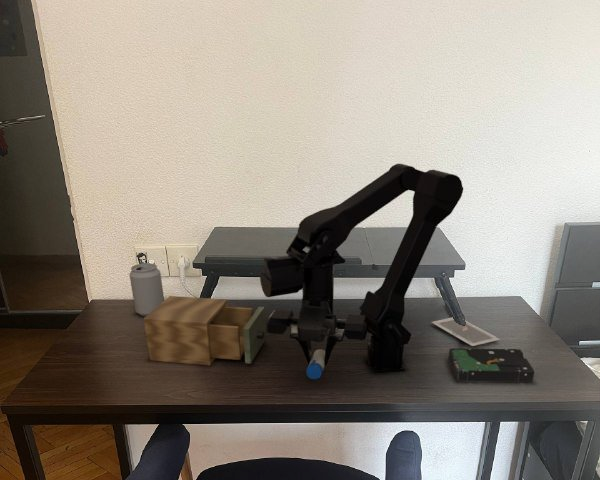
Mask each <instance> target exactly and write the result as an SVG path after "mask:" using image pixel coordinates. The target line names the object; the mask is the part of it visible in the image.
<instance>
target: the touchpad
mask: <svg viewBox="0 0 600 480" xmlns="http://www.w3.org/2000/svg"><path fill="white" fill-rule="evenodd" d="M453 317H454V316H453ZM453 317H448V318H443V319H438V320H434V321H433V320H432V321H431V322H430V323H431V324H433V325H435V326H436V327H438V328H439V329H441V330H443V331H445V332H447V333H448V334H450V335H452V336H453V337H455V338H458V339H459V340H460V341H462V342H464V343H466V344H468V345H469V346H471V347H474V346H475V347H476V346H480V345H483V344H484V345H485V344H488V343H492V342H497V341H500V340H501V338H499V337H498V336H495V335H493V334H491V333H490V332H488V331H486V330H484V329H482V328H481V327H478V326H477V325H474V324H473V323H471V322H469V321H467V320H465V322H466V325H465V326H462V325H459V324H458V323H456V322H455V321H454V319H453Z"/></svg>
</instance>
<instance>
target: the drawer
mask: <svg viewBox="0 0 600 480" xmlns="http://www.w3.org/2000/svg"><path fill="white" fill-rule="evenodd" d="M253 311H254V310H253V308H252V307H239V306H227V307H226V306H224V307H223V308H222V309H221V311H220V312H219V313H218V314H217V315H216V316H215V317H214V319H213V320H212V321H211V322H210V323H209V324H208V334H209V344H210V354H211V358H215V359H223V360H236V361H241V360H242V358H243V356H244V363H245V364H249V365H251V364H252V362H253V361H254V360H255V357H256V356H257V354H258V353H259V351H260V349H262V346H263V344H264V343H265V342H266V341H267V340H266V339H267V338H266V337H267V336H266V314H265V306H258V307H257V309H256V310H255V311H254V312H253Z"/></svg>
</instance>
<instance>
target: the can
mask: <svg viewBox="0 0 600 480" xmlns="http://www.w3.org/2000/svg"><path fill="white" fill-rule="evenodd" d="M130 270H131V271H130V272H129V273H128V274H129V281H130V287H131V292H132V299H133V305H134V311H135V313H137V314H138V315H140V316H142V317H146V316H147V315H148V314H150V313H151V312H152V311H153V310H154V309H155V308H156V307H157V306H159V305H160V304H161V303H162V302H163V301H164V300H165V297H164V290H163V289H164V288H163V282H162V281H163V280H162V275H161V273H162V272H161V270H160V269H158V265H157V264H156V263H152V262H151V263H150V262H144V263H137V264H134V265H132V266H131V267H130Z"/></svg>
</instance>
